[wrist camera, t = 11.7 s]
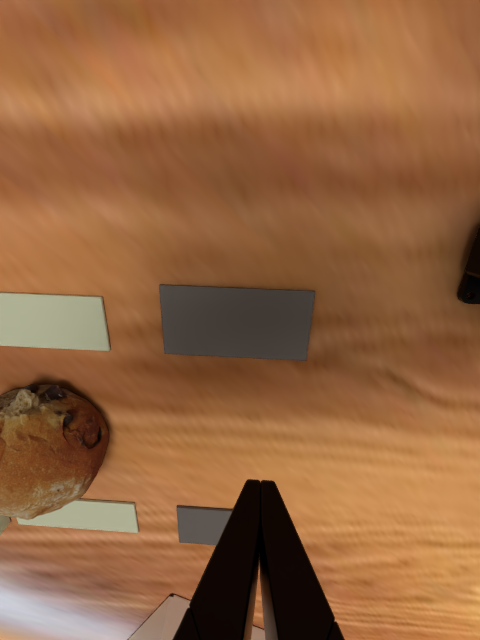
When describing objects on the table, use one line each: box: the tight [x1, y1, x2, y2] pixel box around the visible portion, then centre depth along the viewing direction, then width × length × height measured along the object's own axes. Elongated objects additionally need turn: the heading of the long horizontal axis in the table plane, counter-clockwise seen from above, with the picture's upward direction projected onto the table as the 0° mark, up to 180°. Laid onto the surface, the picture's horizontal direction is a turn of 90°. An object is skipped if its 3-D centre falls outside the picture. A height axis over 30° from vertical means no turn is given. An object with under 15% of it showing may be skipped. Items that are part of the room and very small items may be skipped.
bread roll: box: [0, 384, 109, 520], centre depth 22 cm, size 10×10×8 cm
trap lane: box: [0, 284, 315, 545], centre depth 23 cm, size 28×26×2 cm
